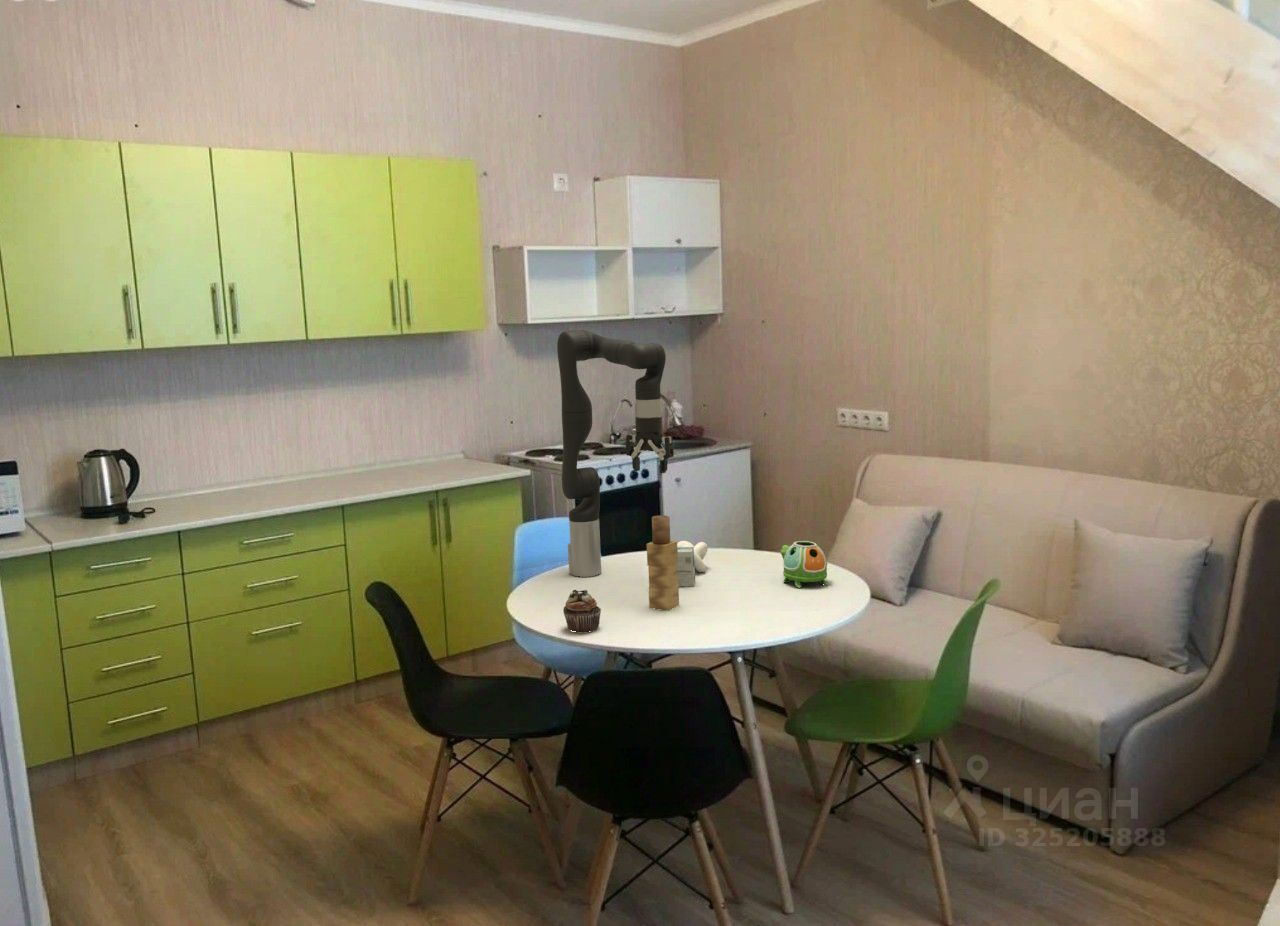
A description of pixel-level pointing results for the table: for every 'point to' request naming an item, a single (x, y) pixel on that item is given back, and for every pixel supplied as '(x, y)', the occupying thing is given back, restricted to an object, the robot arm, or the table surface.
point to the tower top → (662, 554)
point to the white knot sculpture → (696, 553)
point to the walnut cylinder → (661, 530)
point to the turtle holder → (804, 563)
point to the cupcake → (581, 612)
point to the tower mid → (662, 577)
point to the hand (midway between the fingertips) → (650, 471)
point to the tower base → (664, 598)
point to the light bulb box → (686, 566)
